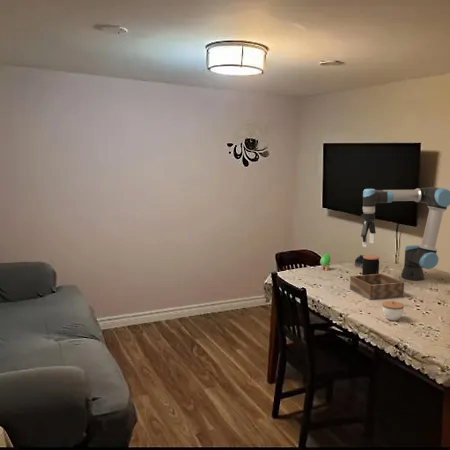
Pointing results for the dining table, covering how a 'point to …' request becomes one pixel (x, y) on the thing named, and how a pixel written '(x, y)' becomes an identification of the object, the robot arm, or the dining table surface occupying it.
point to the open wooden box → (376, 286)
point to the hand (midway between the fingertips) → (368, 244)
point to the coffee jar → (370, 265)
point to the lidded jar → (392, 310)
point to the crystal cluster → (359, 261)
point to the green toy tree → (325, 262)
